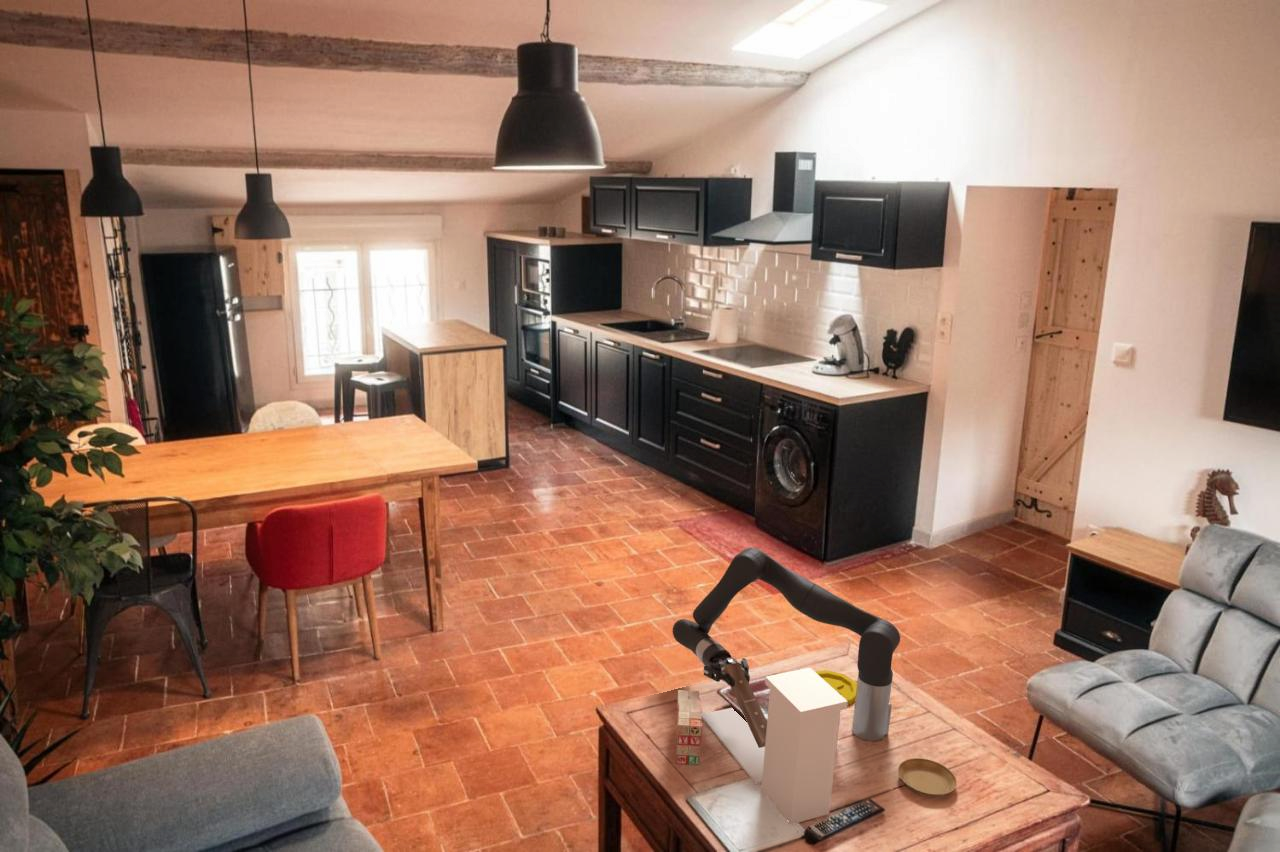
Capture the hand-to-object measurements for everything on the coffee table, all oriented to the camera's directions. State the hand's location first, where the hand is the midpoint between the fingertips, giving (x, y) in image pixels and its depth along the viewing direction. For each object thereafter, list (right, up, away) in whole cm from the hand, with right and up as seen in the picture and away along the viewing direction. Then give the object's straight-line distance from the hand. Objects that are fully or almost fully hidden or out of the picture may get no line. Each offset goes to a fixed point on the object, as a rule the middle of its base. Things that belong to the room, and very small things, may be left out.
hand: (740, 681), depth 246 cm
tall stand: (+11, -24, -22) cm, 34 cm away
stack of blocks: (-15, -17, +1) cm, 22 cm away
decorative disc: (+31, -11, +28) cm, 43 cm away
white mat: (+1, -17, 0) cm, 17 cm away
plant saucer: (+47, -23, -13) cm, 54 cm away
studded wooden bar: (+1, -6, -2) cm, 7 cm away
